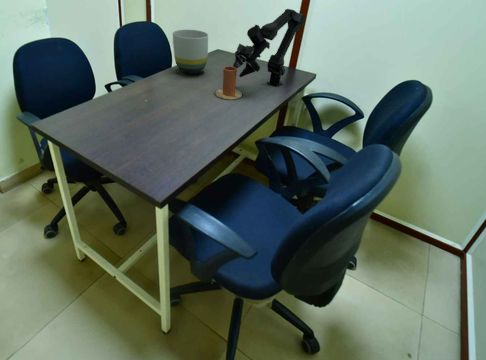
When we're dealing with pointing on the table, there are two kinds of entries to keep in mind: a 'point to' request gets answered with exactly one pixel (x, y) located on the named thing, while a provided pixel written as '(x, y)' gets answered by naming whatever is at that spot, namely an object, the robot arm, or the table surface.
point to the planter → (190, 50)
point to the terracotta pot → (229, 80)
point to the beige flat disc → (221, 95)
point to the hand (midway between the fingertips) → (235, 73)
